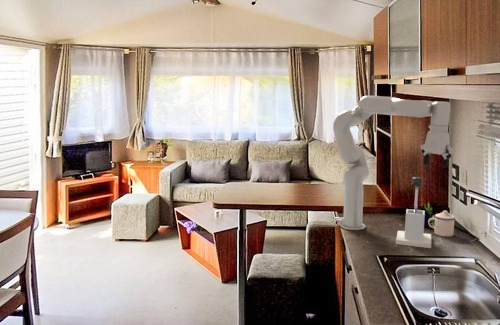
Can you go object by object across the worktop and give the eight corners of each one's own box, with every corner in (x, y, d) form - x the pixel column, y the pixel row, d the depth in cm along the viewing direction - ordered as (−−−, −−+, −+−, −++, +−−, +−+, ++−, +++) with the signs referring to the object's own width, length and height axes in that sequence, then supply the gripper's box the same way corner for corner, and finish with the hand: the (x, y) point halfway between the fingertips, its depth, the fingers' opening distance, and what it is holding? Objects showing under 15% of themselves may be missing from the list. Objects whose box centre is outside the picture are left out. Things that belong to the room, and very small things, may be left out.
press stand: (395, 244, 203) (397, 214, 201) (397, 234, 217) (399, 206, 215) (431, 248, 198) (433, 217, 196) (430, 238, 212) (432, 209, 210)
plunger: (408, 217, 204) (410, 178, 201) (408, 213, 209) (411, 176, 207) (421, 218, 202) (424, 179, 199) (421, 215, 207) (424, 177, 205)
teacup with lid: (454, 232, 220) (456, 209, 218) (453, 238, 212) (454, 214, 210) (428, 229, 226) (430, 207, 224) (426, 234, 218) (427, 211, 216)
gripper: (417, 127, 208) (414, 163, 211) (451, 131, 193) (447, 169, 196) (427, 126, 212) (424, 162, 214) (461, 130, 197) (457, 168, 200)
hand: (435, 165), depth 205 cm, fingers open, 9 cm apart
